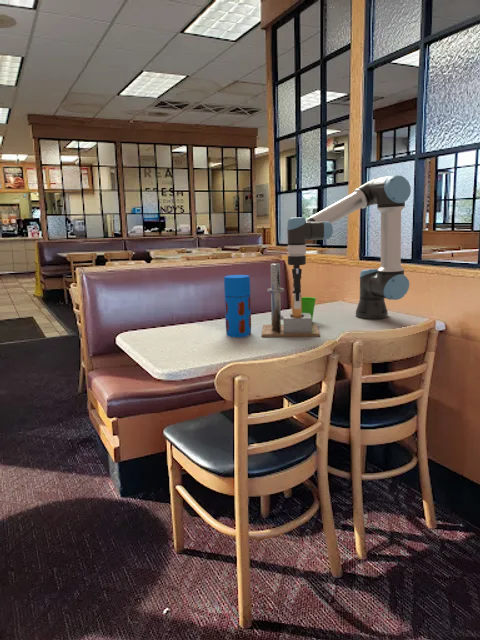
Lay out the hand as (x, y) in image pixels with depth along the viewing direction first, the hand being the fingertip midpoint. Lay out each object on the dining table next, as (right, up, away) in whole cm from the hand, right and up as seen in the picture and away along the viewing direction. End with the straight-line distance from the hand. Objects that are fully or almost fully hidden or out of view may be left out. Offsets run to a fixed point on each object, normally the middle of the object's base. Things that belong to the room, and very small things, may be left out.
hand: (297, 305), depth 207 cm
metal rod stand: (-3, -11, +4) cm, 12 cm away
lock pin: (0, -10, +2) cm, 10 cm away
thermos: (-25, -12, +2) cm, 28 cm away
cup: (+7, -7, +22) cm, 25 cm away
